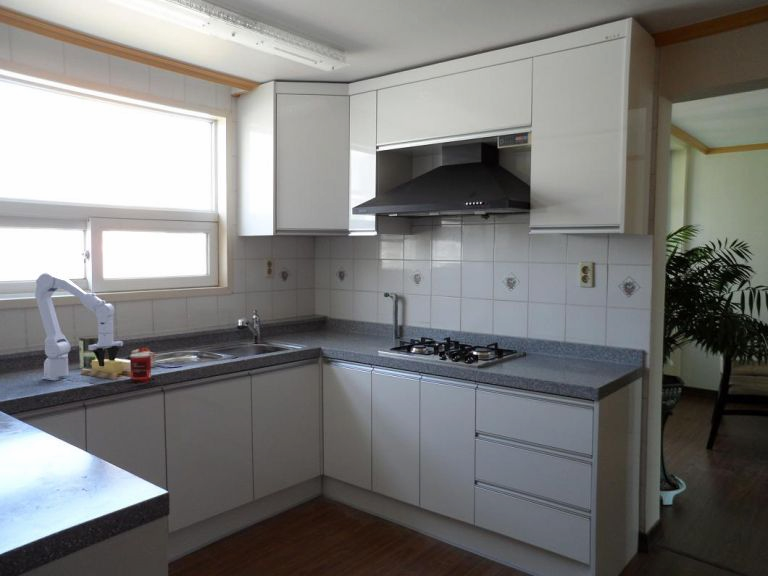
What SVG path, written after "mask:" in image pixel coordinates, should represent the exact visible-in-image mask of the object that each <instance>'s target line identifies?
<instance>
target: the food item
mask: <svg viewBox="0 0 768 576" xmlns="http://www.w3.org/2000/svg"><path fill="white" fill-rule="evenodd" d="M130 353H131V354H130V355H132V354H136V353H149V354H150V357H151V368H155V367H156V361H157V360H156V352H152V351H151V350H150V349H149V347H144V346H142V347H141V348H138V347H137V349H134V350H132V351H130Z"/></svg>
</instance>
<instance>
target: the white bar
mask: <svg viewBox="0 0 768 576" xmlns="http://www.w3.org/2000/svg"><path fill="white" fill-rule="evenodd" d="M115 361H121V362H122V370H129V371H131V367H130V359H123V358H116V357H115Z"/></svg>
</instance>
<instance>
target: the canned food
mask: <svg viewBox="0 0 768 576" xmlns="http://www.w3.org/2000/svg"><path fill="white" fill-rule="evenodd" d="M129 357H130V359H129V360H130V367H131V376H130V379H131V380H137V381H132V384H133V383H134V384H143V383H144V384H145V383H149V382H150V381H151V379H152V371H151V370H152V367H151V357H150V354H149V353H136V354H132V355H131V354H130V356H129Z"/></svg>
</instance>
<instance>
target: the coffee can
mask: <svg viewBox="0 0 768 576" xmlns="http://www.w3.org/2000/svg"><path fill="white" fill-rule="evenodd" d="M78 341H79V343H78V345H79V346H78V347H79V369H80V368H82V369H89V368H92V360H97V357H96V355H95V354H94V352H93V350H89V346H88V345H93V344H98V335H85V336H79V337H78ZM103 347H105V346H103ZM102 349H103V350H105V348H102Z"/></svg>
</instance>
